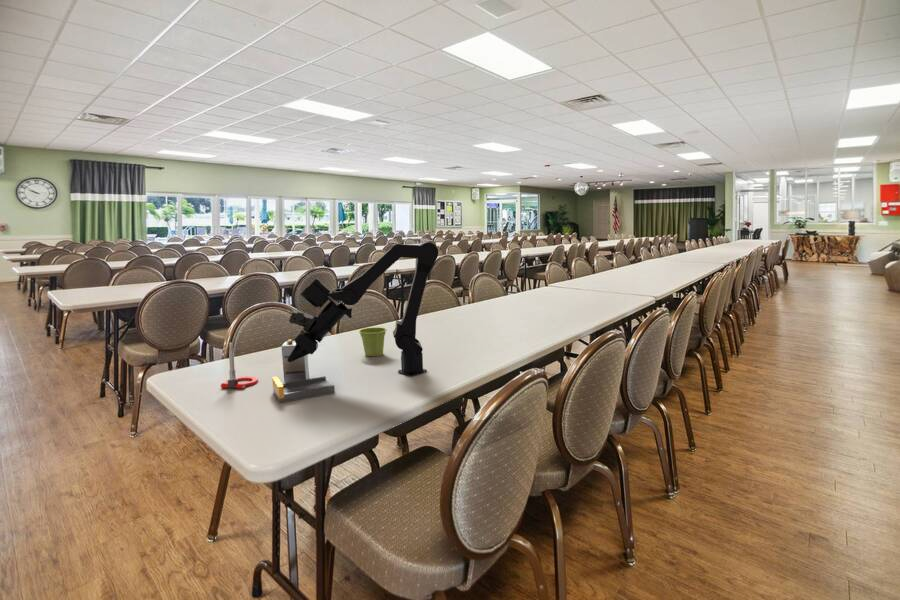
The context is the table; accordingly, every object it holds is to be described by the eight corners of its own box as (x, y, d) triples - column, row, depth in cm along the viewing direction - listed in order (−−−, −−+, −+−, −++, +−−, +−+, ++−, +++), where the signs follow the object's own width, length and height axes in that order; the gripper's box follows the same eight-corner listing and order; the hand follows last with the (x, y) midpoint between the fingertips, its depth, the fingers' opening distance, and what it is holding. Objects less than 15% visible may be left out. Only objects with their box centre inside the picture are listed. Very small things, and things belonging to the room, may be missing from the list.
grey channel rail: (325, 382, 133) (324, 368, 132) (334, 392, 125) (333, 377, 124) (273, 392, 126) (272, 377, 125) (279, 403, 118) (278, 387, 117)
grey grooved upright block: (309, 376, 139) (306, 337, 137) (306, 382, 133) (303, 341, 132) (288, 378, 138) (285, 338, 136) (284, 384, 133) (281, 342, 131)
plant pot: (355, 354, 162) (353, 330, 161) (377, 349, 169) (376, 325, 167) (369, 359, 156) (368, 334, 154) (393, 354, 162) (392, 329, 160)
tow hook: (237, 379, 139) (217, 389, 130) (235, 336, 138) (214, 343, 128) (263, 380, 138) (245, 390, 128) (261, 337, 136) (243, 343, 127)
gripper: (310, 295, 142) (275, 333, 142) (300, 305, 124) (259, 348, 124) (338, 319, 144) (303, 356, 144) (332, 332, 126) (292, 375, 126)
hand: (290, 358), depth 134 cm, fingers closed on grey grooved upright block, 5 cm apart
